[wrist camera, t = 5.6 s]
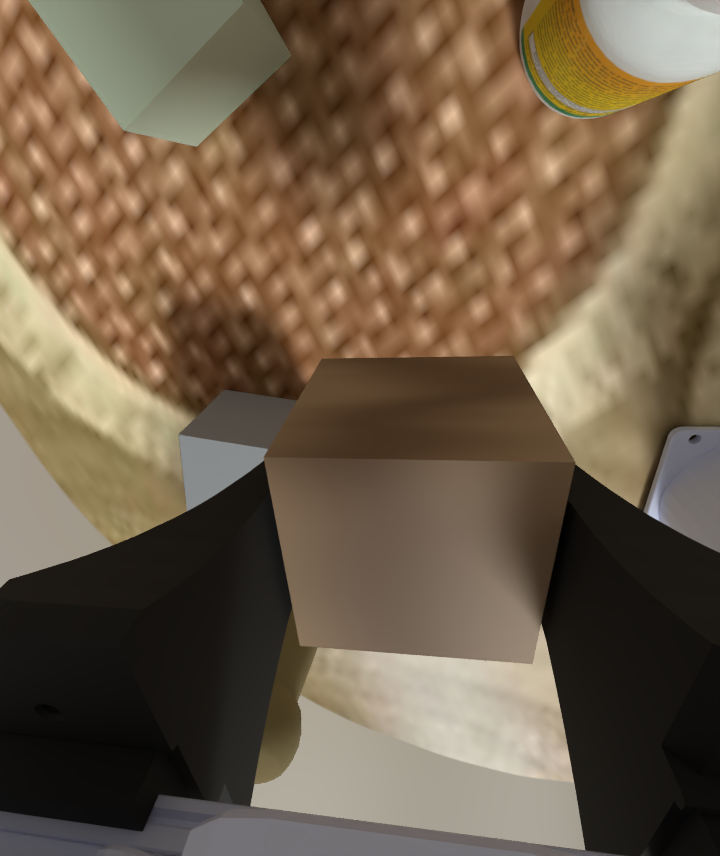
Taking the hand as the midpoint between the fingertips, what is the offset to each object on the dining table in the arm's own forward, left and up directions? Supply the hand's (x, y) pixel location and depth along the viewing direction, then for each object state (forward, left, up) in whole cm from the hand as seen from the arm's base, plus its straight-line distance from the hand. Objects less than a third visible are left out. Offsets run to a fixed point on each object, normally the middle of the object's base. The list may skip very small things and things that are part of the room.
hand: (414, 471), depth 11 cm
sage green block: (+8, -12, -10) cm, 18 cm away
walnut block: (0, 0, -2) cm, 2 cm away
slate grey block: (+8, +5, -10) cm, 14 cm away
